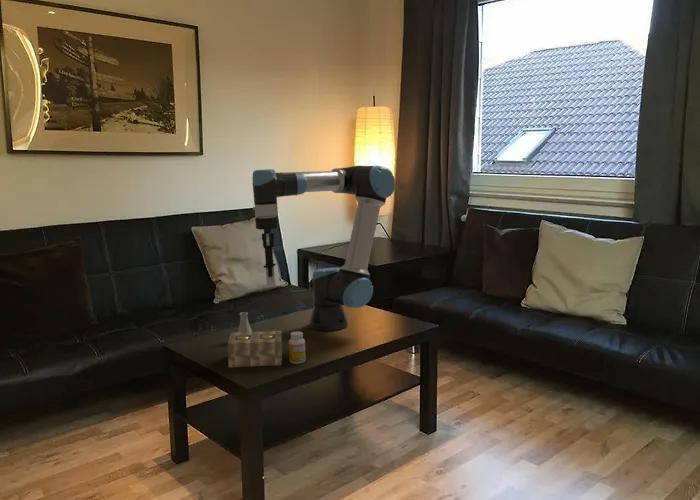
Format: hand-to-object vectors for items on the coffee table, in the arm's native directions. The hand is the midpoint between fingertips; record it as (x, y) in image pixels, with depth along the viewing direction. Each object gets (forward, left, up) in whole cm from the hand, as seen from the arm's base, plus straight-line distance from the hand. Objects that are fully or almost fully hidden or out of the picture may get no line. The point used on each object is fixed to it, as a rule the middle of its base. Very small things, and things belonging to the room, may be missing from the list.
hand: (271, 285), depth 210 cm
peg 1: (+10, +6, -24) cm, 26 cm away
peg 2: (+2, +6, -24) cm, 25 cm away
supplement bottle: (-8, +9, -24) cm, 27 cm away
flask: (+11, -18, -24) cm, 33 cm away
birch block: (+6, +6, -24) cm, 25 cm away
